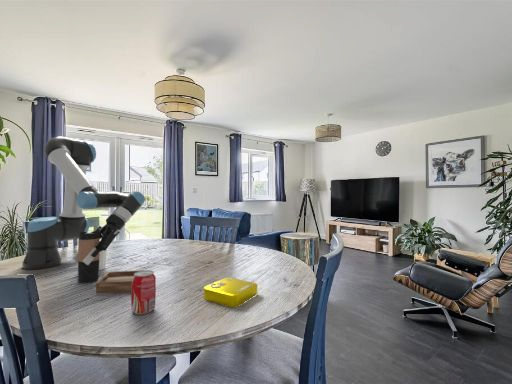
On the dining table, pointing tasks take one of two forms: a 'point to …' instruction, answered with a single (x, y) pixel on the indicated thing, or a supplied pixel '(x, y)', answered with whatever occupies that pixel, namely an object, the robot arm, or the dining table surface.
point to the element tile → (230, 291)
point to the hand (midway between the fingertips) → (79, 261)
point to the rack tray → (115, 282)
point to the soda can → (143, 292)
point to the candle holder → (102, 259)
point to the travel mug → (84, 248)
